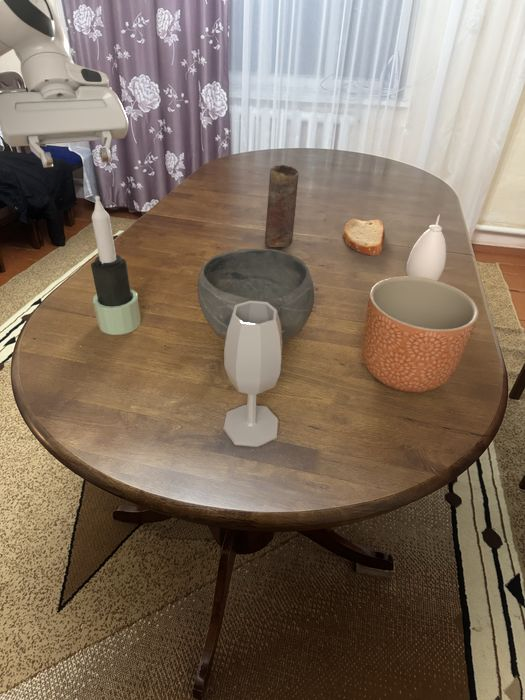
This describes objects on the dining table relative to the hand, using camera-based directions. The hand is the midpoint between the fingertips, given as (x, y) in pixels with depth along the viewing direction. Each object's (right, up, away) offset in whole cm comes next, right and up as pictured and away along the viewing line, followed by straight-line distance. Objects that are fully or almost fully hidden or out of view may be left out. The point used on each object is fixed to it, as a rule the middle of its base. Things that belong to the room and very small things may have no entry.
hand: (78, 162), depth 78 cm
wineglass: (+29, -44, -6) cm, 53 cm away
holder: (+2, -26, +15) cm, 30 cm away
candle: (+2, -26, +15) cm, 30 cm away
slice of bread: (+60, 0, +54) cm, 81 cm away
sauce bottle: (+68, -17, +32) cm, 77 cm away
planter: (+56, -36, +6) cm, 67 cm away
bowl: (+29, -29, +13) cm, 43 cm away
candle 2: (+35, -3, +48) cm, 60 cm away
